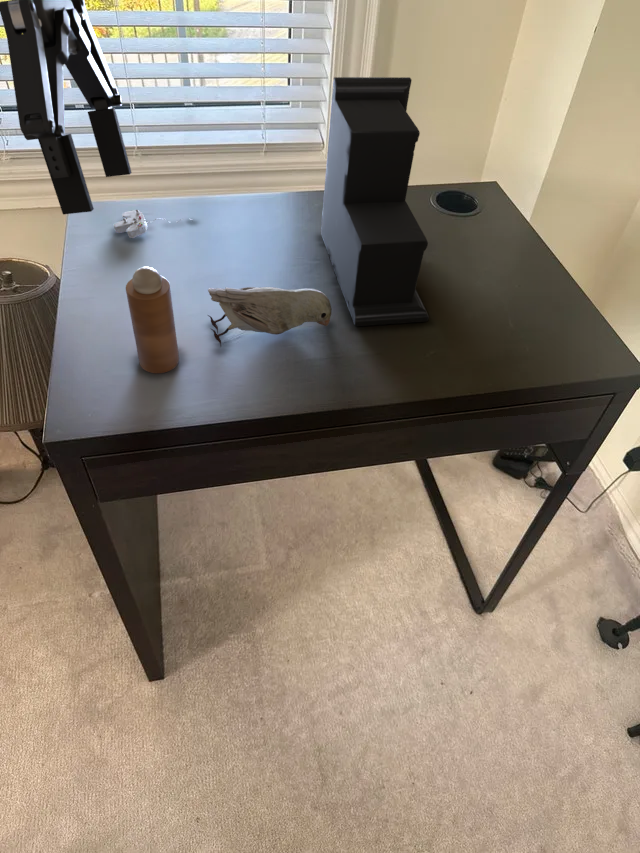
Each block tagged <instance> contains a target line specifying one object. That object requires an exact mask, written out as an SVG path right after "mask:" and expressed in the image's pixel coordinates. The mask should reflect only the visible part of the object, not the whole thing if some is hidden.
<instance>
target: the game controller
mask: <svg viewBox="0 0 640 853" xmlns="http://www.w3.org/2000/svg"><path fill="white" fill-rule="evenodd" d="M121 217H122V220H120V221H119V220H118V221H116V222H115V223H113V225H112V226H113V228H114V231H115V233H116V234H123V233H127V235H128V237H129V239H136V238H137V237H139V236H142V235H144V234H146V232H147V231H148V222H147V220H146V218H145V215H144V214H143V212H142V211H140V210H138V209H133V210H128V211H124V212H122V214H121ZM156 220H157V218H155V219H154V220H151V223H153V222H154V221H156ZM158 220H163V218H160V217H159V218H158ZM165 220H167V222H168V223H170V221H169V220H168V219H166V218H165ZM182 220H183V218H182V219H180V220H177V223H178V222H180V221H182ZM190 220H191V221H193V219H192V218H190Z"/></svg>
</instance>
